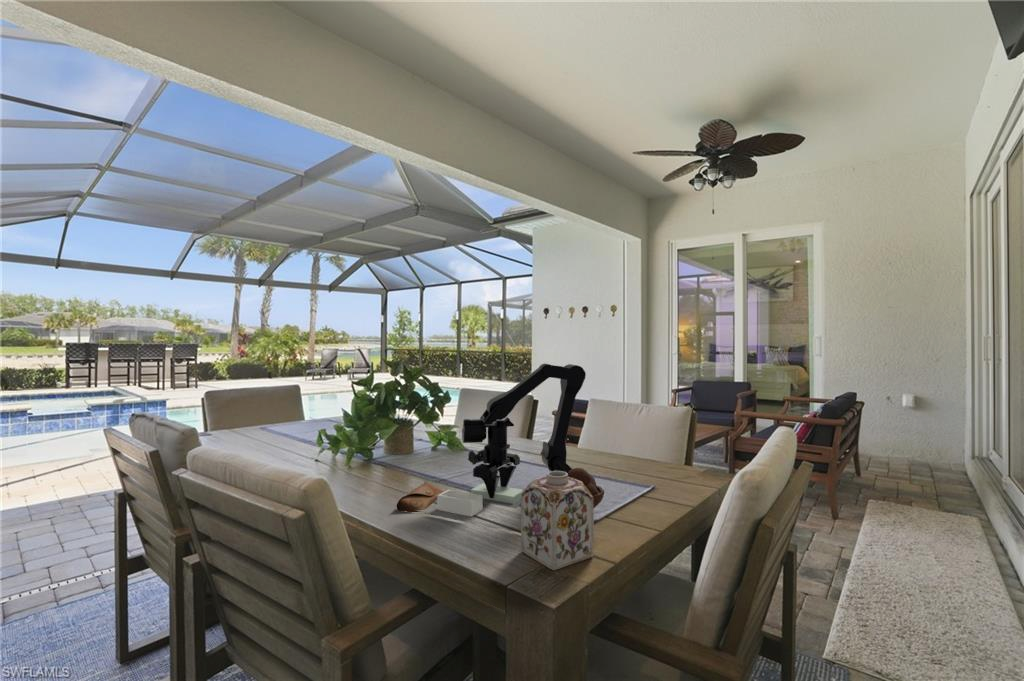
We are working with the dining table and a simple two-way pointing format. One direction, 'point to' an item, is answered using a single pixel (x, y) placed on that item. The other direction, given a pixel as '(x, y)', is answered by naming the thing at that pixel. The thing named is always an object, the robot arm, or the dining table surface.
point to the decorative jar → (557, 520)
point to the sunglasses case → (419, 498)
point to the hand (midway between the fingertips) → (497, 494)
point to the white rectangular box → (460, 502)
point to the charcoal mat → (503, 503)
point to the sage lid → (499, 493)
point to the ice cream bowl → (588, 484)
